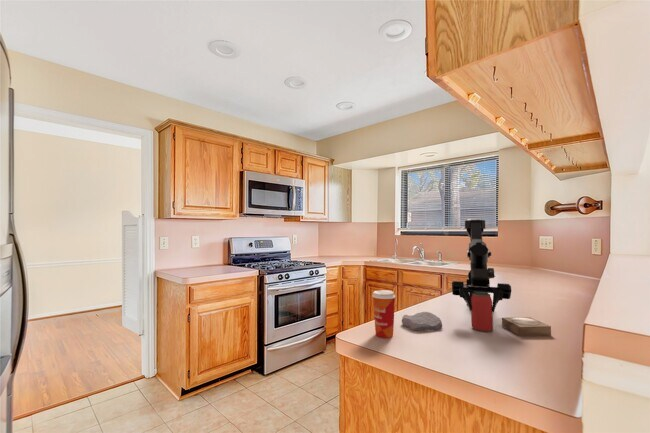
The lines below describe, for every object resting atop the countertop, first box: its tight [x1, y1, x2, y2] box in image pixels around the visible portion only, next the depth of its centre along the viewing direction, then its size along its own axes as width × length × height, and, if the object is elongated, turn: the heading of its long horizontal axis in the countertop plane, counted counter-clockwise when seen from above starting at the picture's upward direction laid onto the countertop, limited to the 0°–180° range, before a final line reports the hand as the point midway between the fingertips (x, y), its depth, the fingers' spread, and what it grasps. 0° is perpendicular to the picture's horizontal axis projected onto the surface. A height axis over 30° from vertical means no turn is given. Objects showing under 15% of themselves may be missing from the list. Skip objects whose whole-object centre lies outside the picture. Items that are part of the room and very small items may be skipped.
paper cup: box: [371, 289, 396, 339], centre depth 102 cm, size 8×8×14 cm
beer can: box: [470, 292, 494, 332], centre depth 107 cm, size 7×7×12 cm
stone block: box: [401, 311, 443, 331], centre depth 110 cm, size 12×5×10 cm
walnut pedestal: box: [501, 316, 552, 337], centre depth 104 cm, size 10×10×3 cm
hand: (481, 310), depth 106 cm, fingers closed on beer can, 6 cm apart
